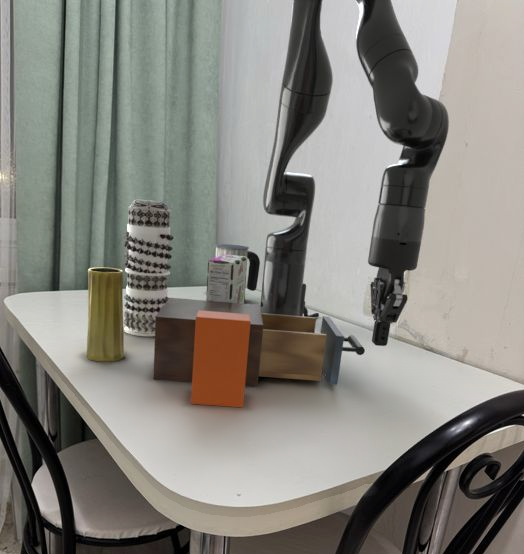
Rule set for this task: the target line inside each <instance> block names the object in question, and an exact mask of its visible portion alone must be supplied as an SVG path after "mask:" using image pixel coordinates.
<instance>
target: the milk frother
mask: <svg viewBox="0 0 524 554" xmlns="http://www.w3.org/2000/svg"><path fill="white" fill-rule="evenodd" d="M214 247H215V257H214V258H216V257H219V256H222V255H238V256H245V257H247V260H248V263H249V266H248V272H247V273H248V274H247V280H246V282H247V283H246V284H245V286H246V288H247V290H248V291H252V292H255V291H256V290H257V288H258V287H257V286H258V280H259V273H260V266H261V260H260V257H259V254H257V253H256V252H253V251H250V250H249V249H250V247H249V246H245V245H239V244H229V243H226V244H225V243H219V244H214ZM245 302H246V298H245V299H244V303H245Z"/></svg>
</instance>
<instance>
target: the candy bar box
mask: <svg viewBox="0 0 524 554" xmlns="http://www.w3.org/2000/svg"><path fill="white" fill-rule="evenodd" d="M215 257H216V256H215ZM215 257H214V258H211V259H208V260H207V278H206V299H205V301H216V302H228V303H241V304H245V302H244V299H245V300H246V285H247V283H246V282H247V270H248V269H247V268H248V266H247V265H248V259H247V257H245V256H238V255H222V256H219V257H216V258H215ZM245 284H246V285H245Z"/></svg>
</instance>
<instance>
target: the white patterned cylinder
mask: <svg viewBox="0 0 524 554" xmlns="http://www.w3.org/2000/svg"><path fill="white" fill-rule="evenodd" d="M127 208H128V223H127V224H126V225H127V226H126V227H127V231H126V232H125V233H124V234H123V238H124V240H125V241H124V243H123V246H124V247H125V249H127V251H126V252H124V258H125V259H126V260H125V261H124V266H125V268H124V270H125V272H126V273H127V285H126V287H125V288H126V289H125V291H126V292H125V293H126V294H125V296H124V298H123V299H124V300H125V301H126V302H125V303H124V304H123V307H125V309H126V310H125V311H124V312H123V317H124V318H125V319H123V325H124V326H125V327H123V331H124V333H127V334H128V335H132V336H137V337H155V322H156V321H155V317H156V315H157V314H158V313H159V311H160V310H161V309H162V307H163V306H164V305H165V303H166V302H167V300H168V299H169V298H170V297H169V296H168V295H169V288H168V276H169V275H170V274H171V271H170V269H171V268H172V266H171V265H170V264H169V263H168V261H169V260H171V259H172V257H173V256H172V254H170V252H171V251H173V246H171V244H169V242H171V241H172V240H174V236H173V235H172V234H171V227H170V218H171V210H170V209H169V207H168V204H167V203H165V202H164V201H160V200H149V199H134V200H133V201H132V203H131V204H130V206H127Z"/></svg>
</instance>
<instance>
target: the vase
mask: <svg viewBox="0 0 524 554" xmlns="http://www.w3.org/2000/svg"><path fill="white" fill-rule="evenodd" d="M87 274H88V278H87V279H88V283H87V301H88V302H87V337H86V339H87V340H86V342H87V343H86V352H85V357H86V358H87V359H88V360H90V361H94V362H100V363H101V362H102V363H109V362H116V361H120V360H122V359H124V358H125V357H126V356H125V355H126V354H125V346H124V345H125V335H124V333H125V331H124V300H123V299H124V298H123V296H124V295H123V290H124V289H123V287H124V286H123V285H124V271H123V270H122V269H121V268H115V267H90V268H88V270H87Z"/></svg>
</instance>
